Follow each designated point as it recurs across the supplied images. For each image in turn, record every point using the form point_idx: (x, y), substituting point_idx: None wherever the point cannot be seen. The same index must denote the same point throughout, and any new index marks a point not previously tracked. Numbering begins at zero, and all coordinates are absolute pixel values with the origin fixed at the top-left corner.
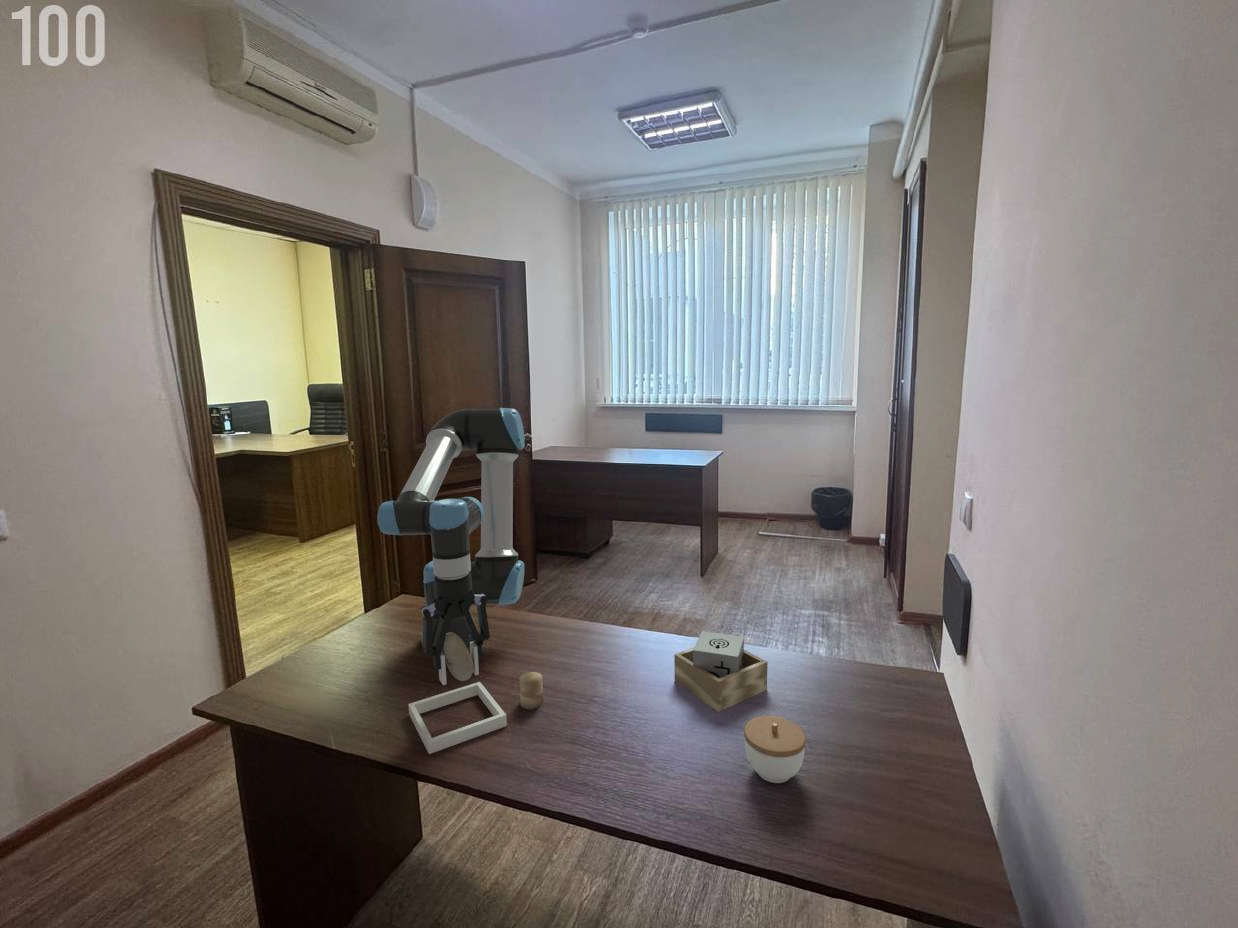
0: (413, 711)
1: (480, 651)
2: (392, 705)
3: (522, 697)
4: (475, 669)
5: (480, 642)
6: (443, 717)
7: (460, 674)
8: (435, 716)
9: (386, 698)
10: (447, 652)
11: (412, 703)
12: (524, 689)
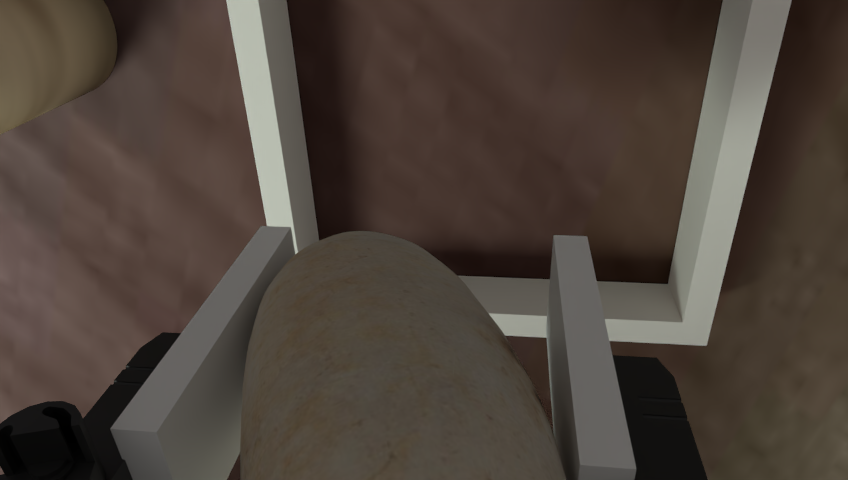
0: (719, 262)
1: (132, 379)
2: (718, 416)
3: (66, 20)
4: (270, 255)
5: (33, 453)
6: (549, 180)
7: (418, 249)
8: (582, 214)
9: (714, 475)
10: (549, 476)
11: (685, 338)
12: (3, 10)
